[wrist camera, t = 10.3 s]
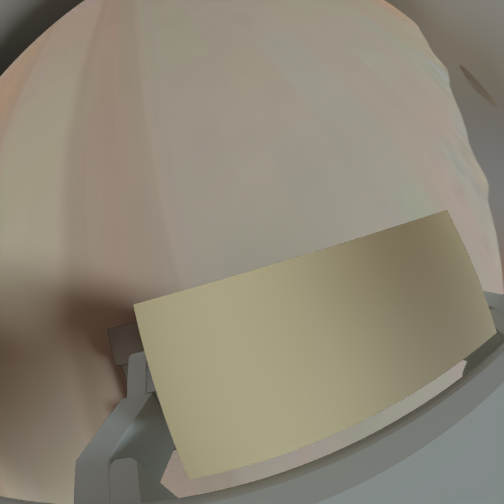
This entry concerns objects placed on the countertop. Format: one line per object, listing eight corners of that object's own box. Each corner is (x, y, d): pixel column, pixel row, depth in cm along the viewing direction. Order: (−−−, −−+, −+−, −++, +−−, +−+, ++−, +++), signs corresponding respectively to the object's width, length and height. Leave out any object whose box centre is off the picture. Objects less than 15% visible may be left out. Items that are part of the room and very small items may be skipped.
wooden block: (218, 400, 12) (189, 479, 3) (201, 347, 13) (132, 300, 4) (333, 361, 13) (497, 332, 4) (314, 311, 14) (445, 207, 5)
